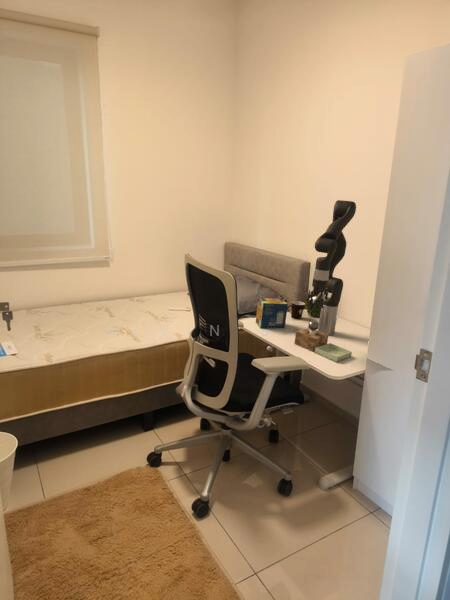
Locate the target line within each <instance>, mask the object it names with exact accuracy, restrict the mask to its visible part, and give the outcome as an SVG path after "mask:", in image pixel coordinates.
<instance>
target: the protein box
mask: <svg viewBox="0 0 450 600" xmlns="http://www.w3.org/2000/svg"><path fill="white" fill-rule="evenodd" d="M288 306H289V303H287V302H286V301H285V300H284V299H283V298H269V297H268V298H267V297H266V298H261V297H259V298H258V299H257V307H256V309H257V310H256V317H255V323H256V324H257V326H258V327H259V329H285V328H286V322H287V321H286V319H287V314H288V310H287V308H288Z"/></svg>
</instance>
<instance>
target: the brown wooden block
mask: <svg viewBox="0 0 450 600" xmlns="http://www.w3.org/2000/svg"><path fill="white" fill-rule="evenodd" d="M309 331H310V328H308V327H307V328H304V329H301V330H297V331H295V337H294V345H296V346H298V347H301V348H303V349H306V350H307V351H310V352H312V353H315V348H317V347H320V346H323V345H326V344H328V341H329V335H328V334H325V333H322V332H320V331H318V329H316V333H315V335H311V334H309Z"/></svg>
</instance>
